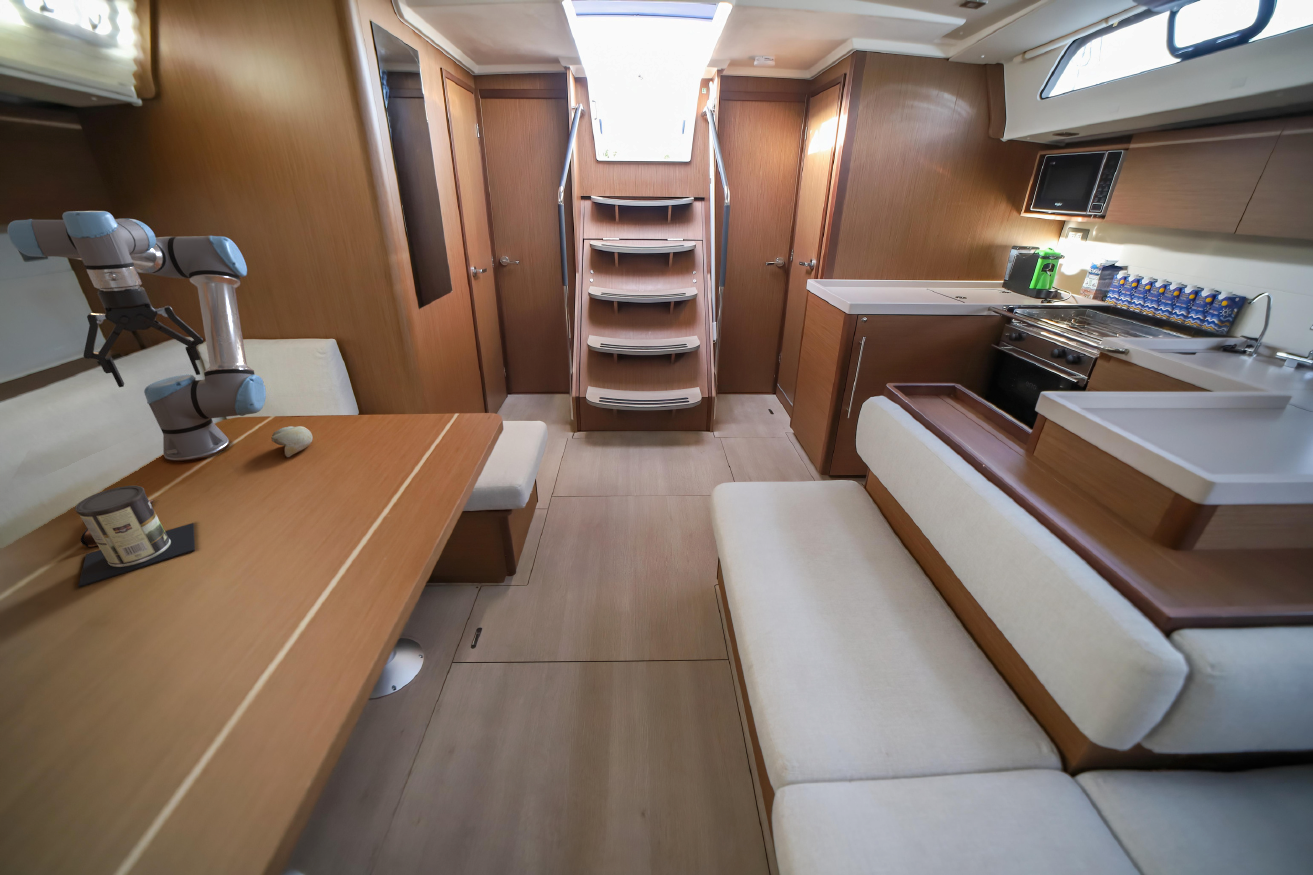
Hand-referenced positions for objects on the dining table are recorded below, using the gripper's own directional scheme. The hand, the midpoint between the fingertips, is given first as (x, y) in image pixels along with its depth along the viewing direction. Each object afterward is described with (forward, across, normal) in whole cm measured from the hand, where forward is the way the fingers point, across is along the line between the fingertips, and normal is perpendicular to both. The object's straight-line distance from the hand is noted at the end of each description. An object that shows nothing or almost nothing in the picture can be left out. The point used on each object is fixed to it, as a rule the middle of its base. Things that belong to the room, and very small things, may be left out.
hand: (161, 379), depth 119 cm
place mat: (+32, -13, -22) cm, 41 cm away
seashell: (+32, +21, +15) cm, 41 cm away
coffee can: (+31, -13, -22) cm, 41 cm away
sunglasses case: (+32, -17, -4) cm, 36 cm away
